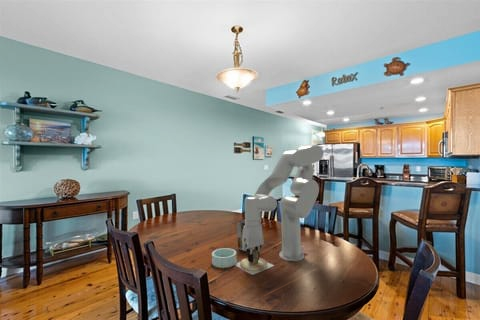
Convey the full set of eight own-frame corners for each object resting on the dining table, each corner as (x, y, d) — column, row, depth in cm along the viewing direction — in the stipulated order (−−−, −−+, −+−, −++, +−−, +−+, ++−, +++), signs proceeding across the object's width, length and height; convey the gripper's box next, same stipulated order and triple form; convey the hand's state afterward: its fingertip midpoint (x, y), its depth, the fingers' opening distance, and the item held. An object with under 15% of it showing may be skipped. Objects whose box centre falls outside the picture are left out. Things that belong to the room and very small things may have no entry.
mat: (254, 257, 125) (254, 256, 125) (274, 266, 114) (274, 265, 114) (233, 265, 116) (233, 264, 116) (252, 275, 105) (252, 274, 105)
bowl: (227, 255, 128) (226, 246, 128) (241, 263, 118) (240, 253, 118) (207, 262, 120) (207, 252, 120) (220, 270, 111) (220, 260, 111)
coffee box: (256, 248, 137) (256, 220, 137) (251, 252, 131) (251, 223, 131) (243, 246, 141) (242, 218, 141) (237, 249, 136) (236, 221, 136)
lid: (254, 257, 124) (254, 243, 124) (272, 265, 114) (272, 250, 114) (234, 264, 116) (234, 249, 116) (252, 274, 106) (252, 258, 106)
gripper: (259, 218, 123) (260, 253, 123) (234, 224, 113) (235, 262, 113) (270, 221, 117) (271, 258, 117) (244, 227, 107) (245, 268, 107)
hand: (253, 260), depth 115 cm, fingers closed on lid, 3 cm apart
